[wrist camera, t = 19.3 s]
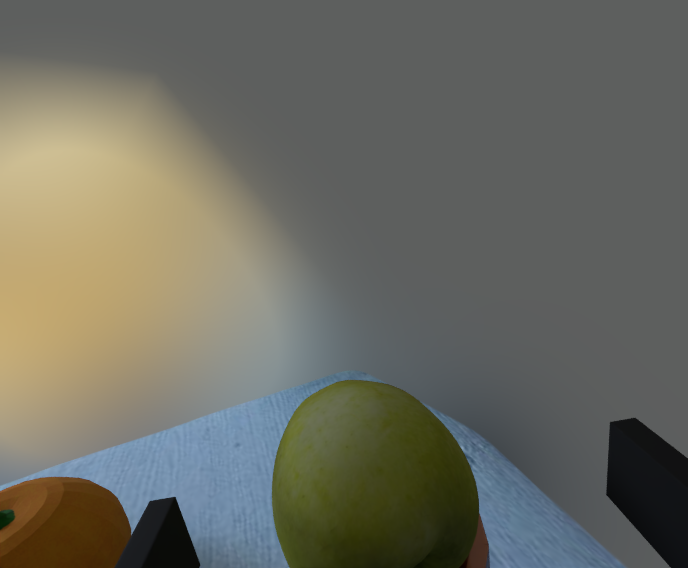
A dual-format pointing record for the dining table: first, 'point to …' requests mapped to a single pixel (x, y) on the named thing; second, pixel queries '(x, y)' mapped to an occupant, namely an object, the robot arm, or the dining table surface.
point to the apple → (372, 483)
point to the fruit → (61, 525)
